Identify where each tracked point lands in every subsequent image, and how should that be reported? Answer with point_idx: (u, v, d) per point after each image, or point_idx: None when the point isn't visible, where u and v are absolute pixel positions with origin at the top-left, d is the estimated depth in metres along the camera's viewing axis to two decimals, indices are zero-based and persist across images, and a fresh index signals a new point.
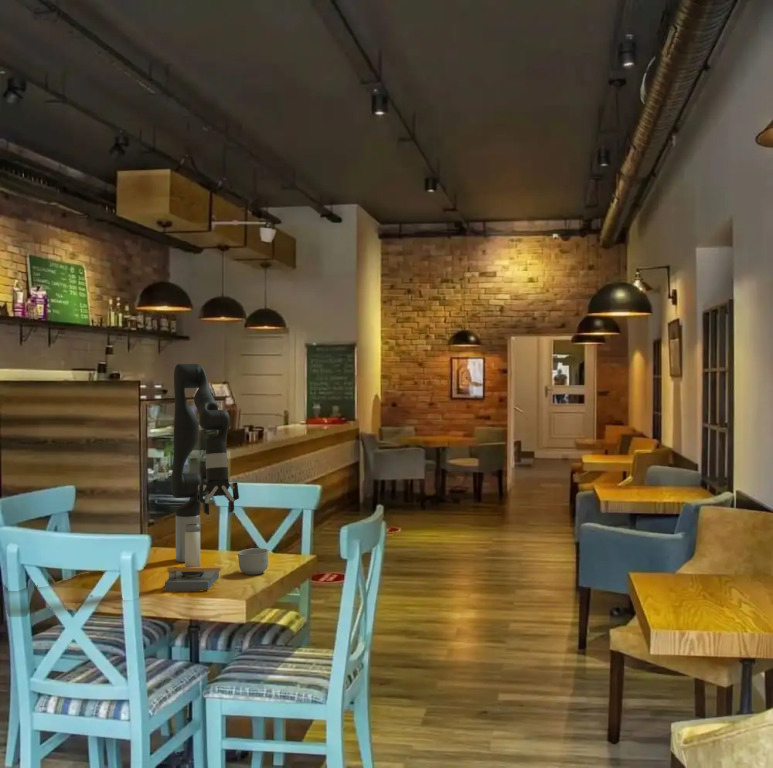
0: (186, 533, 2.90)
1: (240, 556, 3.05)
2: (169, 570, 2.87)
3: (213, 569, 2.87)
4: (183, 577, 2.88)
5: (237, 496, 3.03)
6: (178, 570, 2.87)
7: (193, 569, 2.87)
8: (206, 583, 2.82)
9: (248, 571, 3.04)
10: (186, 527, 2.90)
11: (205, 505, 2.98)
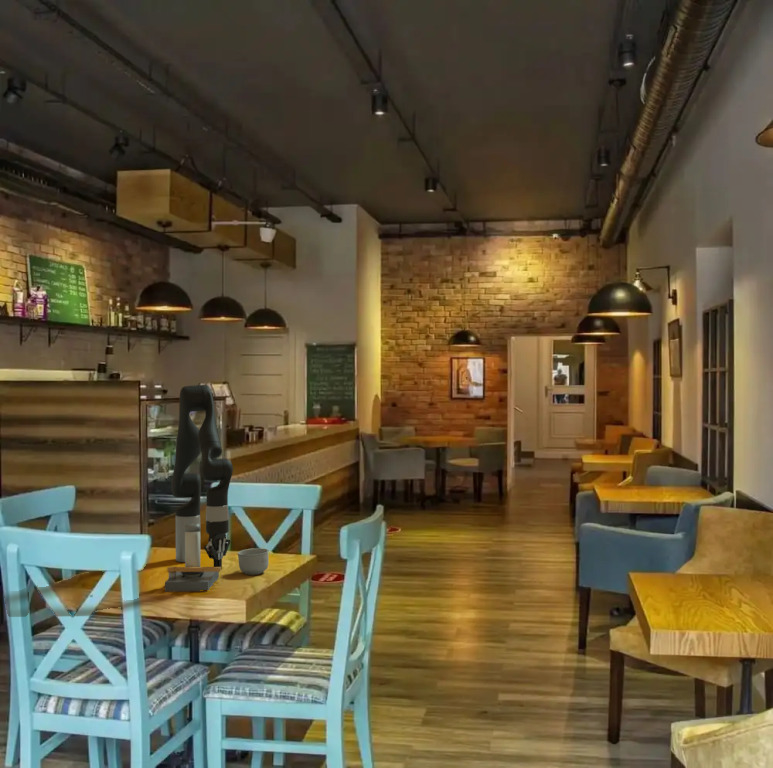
0: (186, 533, 2.90)
1: (240, 556, 3.05)
2: (169, 570, 2.87)
3: (213, 569, 2.87)
4: (183, 577, 2.88)
5: (225, 552, 2.93)
6: (178, 570, 2.87)
7: (193, 569, 2.87)
8: (206, 583, 2.82)
9: (248, 571, 3.04)
10: (186, 527, 2.90)
11: (217, 561, 2.89)
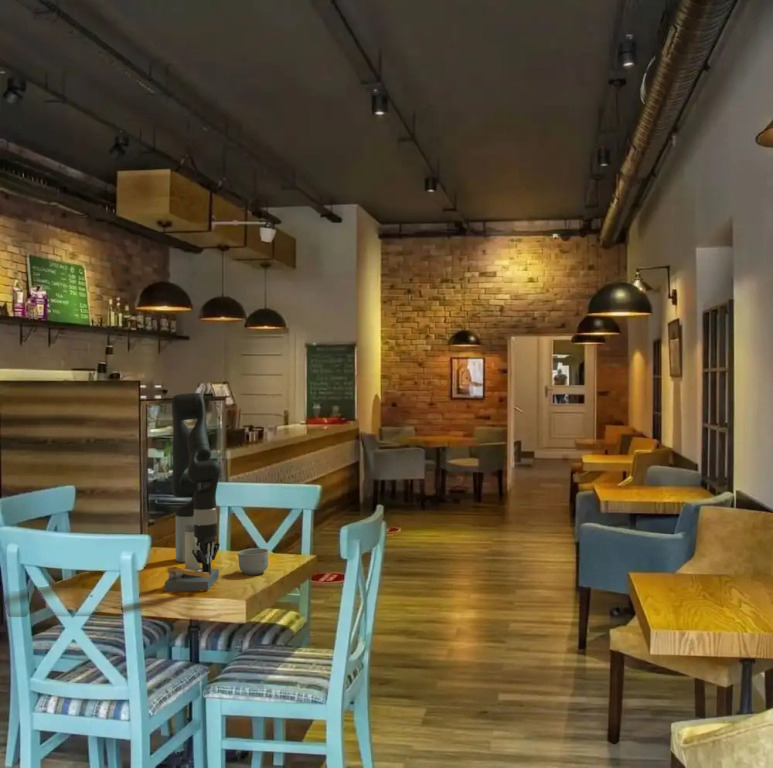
0: (186, 533, 2.90)
1: (240, 556, 3.05)
2: (167, 570, 2.87)
3: (200, 574, 2.80)
4: (183, 577, 2.88)
5: (214, 556, 2.85)
6: (174, 571, 2.86)
7: (186, 572, 2.83)
8: (206, 583, 2.82)
9: (248, 571, 3.04)
10: (186, 527, 2.90)
11: (206, 566, 2.82)
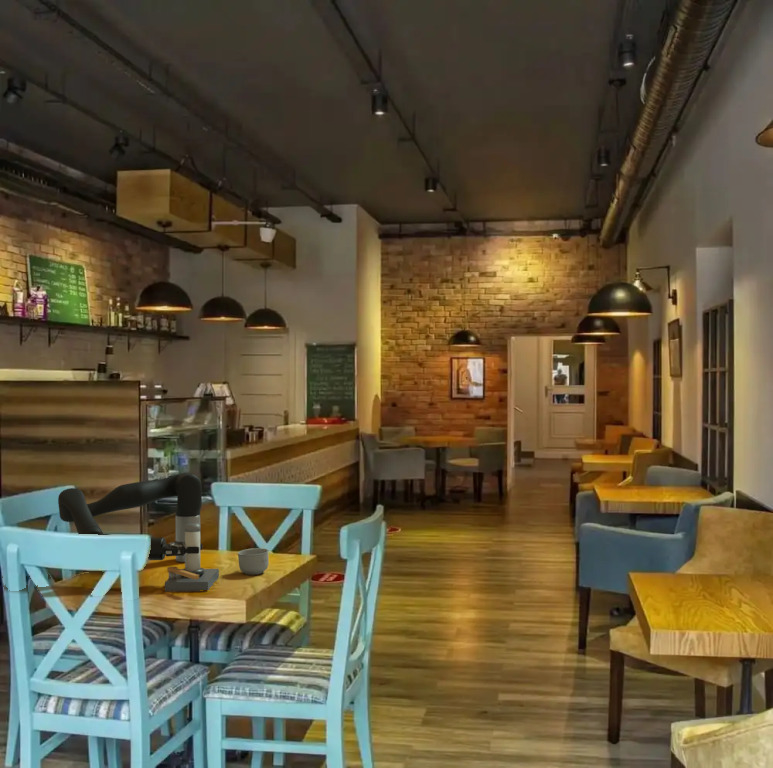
0: (186, 533, 2.90)
1: (240, 556, 3.05)
2: (167, 569, 2.87)
3: (191, 576, 2.77)
4: (183, 577, 2.88)
5: None
6: (173, 571, 2.86)
7: (180, 572, 2.82)
8: (206, 583, 2.82)
9: (248, 571, 3.04)
10: (186, 527, 2.90)
11: (189, 548, 2.88)
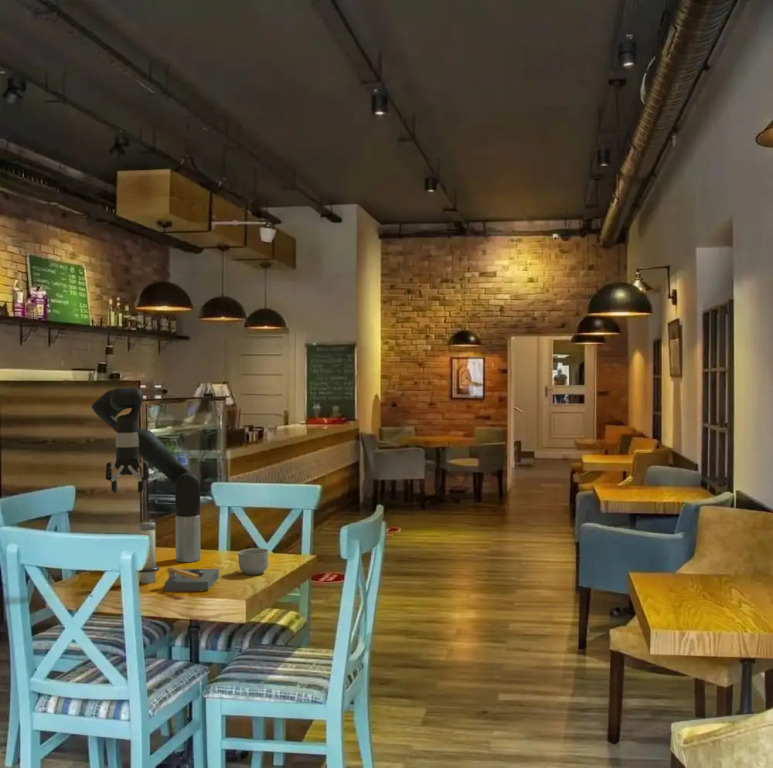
0: (141, 531, 2.94)
1: (240, 556, 3.05)
2: (167, 569, 2.87)
3: (191, 576, 2.77)
4: (183, 577, 2.88)
5: None
6: (173, 571, 2.86)
7: (180, 572, 2.82)
8: (206, 583, 2.82)
9: (248, 571, 3.04)
10: (141, 525, 2.94)
11: None
